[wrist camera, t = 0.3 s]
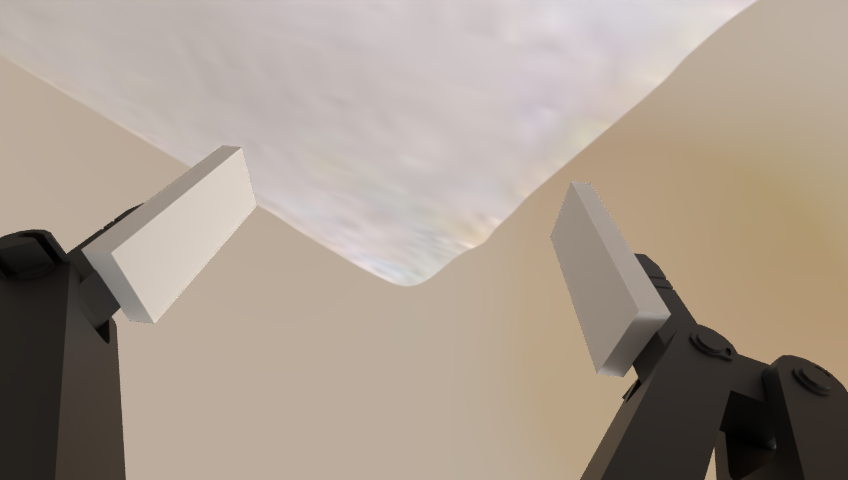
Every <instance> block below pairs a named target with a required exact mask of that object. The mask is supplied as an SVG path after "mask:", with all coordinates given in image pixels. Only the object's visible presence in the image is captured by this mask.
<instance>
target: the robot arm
mask: <svg viewBox="0 0 848 480" xmlns="http://www.w3.org/2000/svg"><path fill="white" fill-rule="evenodd" d="M255 207H256V201H255V198H254V194H253V190H252V186H251V182H250V178H249V174H248V171H247V167H246V163H245V159H244V155H243V151H242V147H232V146H221V147H220V148H219V149H217V150H216V151H215V152H213V153H212V154H210V155H209V156H208V157H206V158H205V159H204V160H202V161H201V162H200V163H198V164H197V165H195V166H194V167H193V168H191V169H190V170H189V171H188V172H186V173H185V174H183V175H182V176H181V177H179V178H178V179H176V180H175V181H174V182H172V183H171V184H170V185H169V186H167V187H166V188H164V189H163V190H162V191H160V192H159V193H158V194H156V195H155V196H154V197H152V198H151V199H150V200H148V201H147V202H145V203H142V204H140V205H138V206H136V207H133V208H131V209H129V210H127V211H125V212H124V213H123V214H121V215H120V216H118V217H117V218H116V219H115V220H114V222H113V221H112V222H110V223H109V224H107V225H106V226H105V227H104V229H101V230H99V231H98V232H96V233H95V234H94V235H92V236H91V237H89V238H88V239H86V240H85V241H84V242H82V243H81V244H80V245H78V246H77V247H75V248H74V249H73V250H71V251H70V252H69V253H67V254H66V253H65V252H64V251H63V249H62V248H61V246H60V245H59V243H58V242H57V241H56V239H55V238H54V236H53V235H52V234H51V232H48V231H46V230H35V229H34V230H26V231H19V232H16V233H13V234H9V235H6V236H3V237H1V238H0V480H126V477H125V462H124V461H125V460H124V443H123V426H122V410H121V394H120V376H119V359H118V343H117V327H116V323H115V321H114V320H113V318H112V317H111V316H112V315H113V314H114V313H115V312H116V311H117V310H118V309H119V308H121V309H122V310H123V312H124V313H125V315H126V316H127V318H128V319H129V321H135V322H143V323H152V324H155V323H156V321H158V319H159V318H160V317H161V316H162V315H163V314H164V312H165V311H166V310H167V309H168V308H169V307H170V306H171V304H172V303H173V302H174V301H175V300H176V299H177V297H178V296H179V295H180V294H181V293H182V292H183V291H184V289H185V288H186V287H187V286H188V285H189V284H190V282H191V281H192V280H193V279H194V278H195V277H196V275H197V274H198V273H199V272H200V271H201V270H202V269H203V267H204V266H205V265H206V264H207V263H208V261H209V260H210V259H211V258H212V257H213V256H214V255H215V253H216V252H217V251H218V250H219V249H220V248H221V247H222V245H223V244H224V243H225V242H226V241H227V239H228V238H229V237H230V236H231V235H232V234H233V233H234V232H235V230H236V229H237V228H238V227H239V225H241V223H242V222H243V221H244V220H245V219H246V218H247V216H248V215H249V214H250V213H251V212H252V211H253V210H254V208H255ZM551 240H552V243H553V246H554V249H555V252H556V255H557V258H558V261H559V263H560V267H561V270H562V272H563V275H564V278H565V281H566V284H567V287H568V290H569V293H570V296H571V299H572V302H573V305H574V308H575V311H576V314H577V317H578V319H579V322H580V325H581V328H582V331H583V334H584V337H585V340H586V343H587V346H588V349H589V352H590V355H591V358H592V361H593V364H594V366H595V370H596V372H597V374H602V375H612V376H620V377H624V376H625V374H626V373H627V371H628V370H629V369H630V368H631V366H632V365H633V366H634V368H635V371H636V373H637V375H638V379H637V380H636V381H635V383H634V384H633V385H632V386H631V387H630V388H629V390H628V391H627V392H626V394H625V395H624V396H623V397H622V398H623V399H624V401H623V403H622V405H621V407H620V409H619V411H618V412H617V414H616V416H615V418H614V420H613V421H612V423H611V425H610V427H609V429H608V430H607V432H606V434H605V436H604V437H603V439H602V441H601V443H600V445H599V447H598V448H597V450H596V452H595V454H594V455H593V458H592V459H591V461H590V463H589V464H588V467H587V468H586V470H585V472H584V473H583V475H582V477H581V479H580V480H704V479H705V476H706V473H707V469H708V466H709V462H710V458H711V455H712V452H713V449H714V448H715V462H716V477H717V480H848V392H847V390H846V389H845V387H844V386H843V385H842V384H841V383H840V382H839V381H838V380H837V379H836V378H835V377H834V376H833V375H832V374H830V373H829V372H828V371H827V370H824V369H823V368H822V367H820V366H819V365H816V364H814V363H812V362H810V361H808V360H806V359H803V358H800V357H796V356H792V355H783V356H781V357H780V358H778V359H777V360H776V361H774V362H773V363H772V364H771V365H768V364H766V363H763V362H760V361H757V360H754V359H751V358H748V357H745V356H742V355H739V354H738V353H737V352H736V350H735V348H734V347H733V345H732V344H731V343H730V342H729V341H728V340H727V339H726V338H724V337H723V336H722V335H720V334H719V333H717V332H716V331H714V330H712V329H710V328H707V327H705V326H703V325H698V324H697V323H696V321H695V320H694V318H693V317H692V315H691V314H690V312H689V311H688V309H687V308H686V307H685V305H684V303H683V302H682V300H681V299H680V297H679V296H678V295H677V293H676V291H675V290H673V287H672V286H671V284H670V283H669V281H668V280H666V277H665V275H664V274H663V272H662V271H661V269H660V268H659V266H658V265H657V264H656V263H654V262H653V261H652V260H651V259H650V258H648V257H647V256H646V255H644V254H635V253H633V252H632V250H631V248H630V246H629V245H628V243H627V242H626V240H625V239H624V237H623V235H622V233H621V232H620V230H619V229H618V227H617V225H616V224H615V222H614V220H613V219H612V218H611V216H610V214H609V212H608V211H607V209H606V208H605V206H604V204H603V203H602V201H601V199H600V198H599V196H598V195H597V193H596V191H595V190H594V188H593V186H592V185H591V183H585V182H575V181H571V183H570V185H569V188H568V191H567V193H566V196H565V199H564V201H563V204H562V207H561V209H560V212H559V215H558V218H557V220H556V223H555V226H554V229H553V231H552V234H551Z"/></svg>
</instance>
